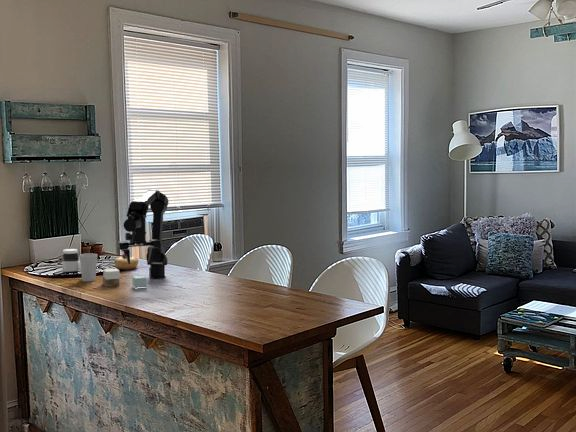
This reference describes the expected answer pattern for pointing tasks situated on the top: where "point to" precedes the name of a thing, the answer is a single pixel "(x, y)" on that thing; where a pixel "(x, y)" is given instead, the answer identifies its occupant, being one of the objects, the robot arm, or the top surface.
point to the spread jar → (70, 261)
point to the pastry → (125, 263)
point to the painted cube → (139, 281)
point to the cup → (88, 266)
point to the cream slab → (111, 273)
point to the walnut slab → (110, 282)
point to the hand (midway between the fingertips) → (139, 263)
